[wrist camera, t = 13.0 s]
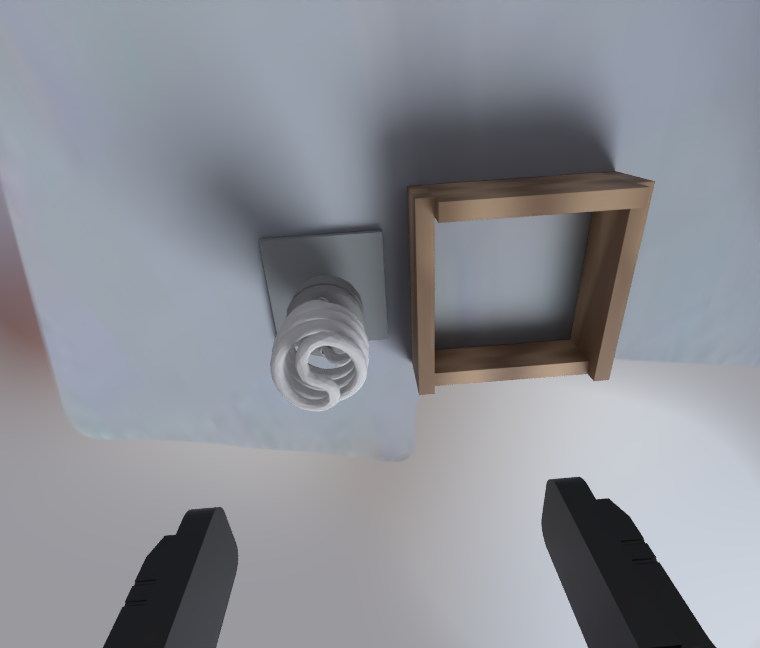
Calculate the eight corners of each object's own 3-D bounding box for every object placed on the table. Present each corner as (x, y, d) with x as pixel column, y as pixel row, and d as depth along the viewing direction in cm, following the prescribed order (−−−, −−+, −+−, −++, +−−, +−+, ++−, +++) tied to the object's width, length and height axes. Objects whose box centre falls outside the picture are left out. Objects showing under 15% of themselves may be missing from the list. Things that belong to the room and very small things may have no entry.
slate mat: (381, 229, 31) (382, 231, 31) (387, 335, 36) (388, 338, 35) (260, 238, 31) (258, 241, 31) (280, 343, 35) (279, 347, 35)
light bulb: (371, 318, 34) (379, 416, 23) (303, 330, 34) (280, 433, 24) (357, 252, 31) (359, 329, 21) (284, 265, 32) (248, 349, 21)
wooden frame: (615, 171, 30) (670, 185, 25) (581, 350, 37) (619, 391, 32) (407, 186, 30) (418, 203, 25) (412, 363, 37) (421, 406, 32)
